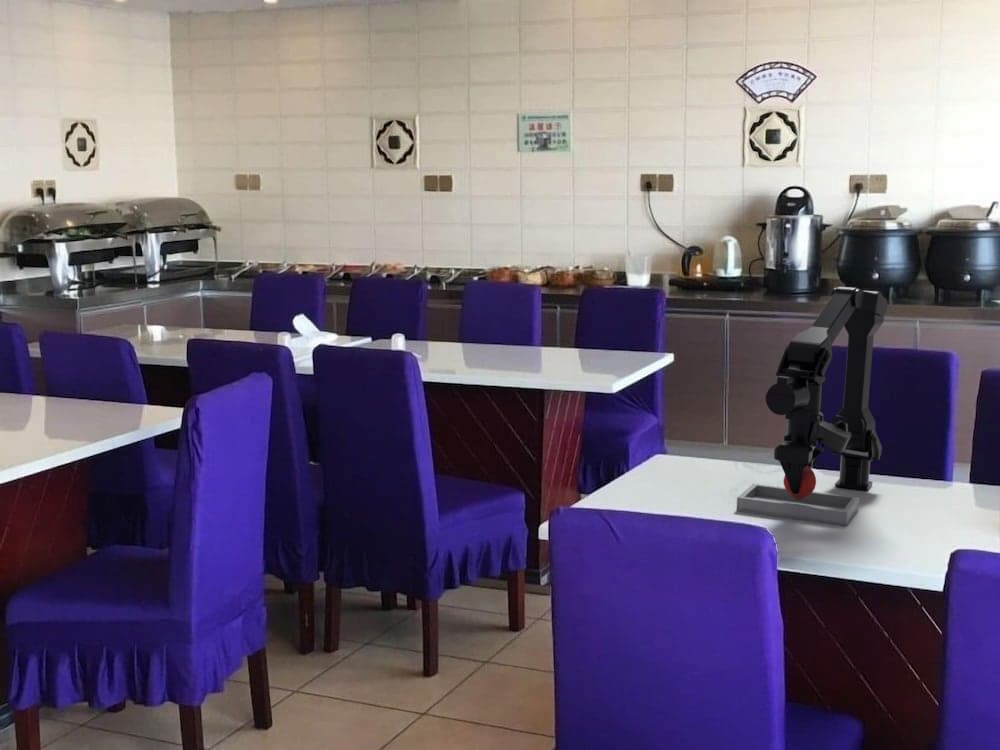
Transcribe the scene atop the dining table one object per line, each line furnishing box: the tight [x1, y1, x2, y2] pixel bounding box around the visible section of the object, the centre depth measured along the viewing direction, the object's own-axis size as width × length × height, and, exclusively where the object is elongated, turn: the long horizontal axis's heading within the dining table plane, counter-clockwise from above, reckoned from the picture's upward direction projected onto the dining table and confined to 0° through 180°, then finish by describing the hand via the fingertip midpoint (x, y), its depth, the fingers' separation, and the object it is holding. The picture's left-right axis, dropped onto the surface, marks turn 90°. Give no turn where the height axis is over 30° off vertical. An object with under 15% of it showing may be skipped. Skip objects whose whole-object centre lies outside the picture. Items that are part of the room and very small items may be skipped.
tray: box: [736, 483, 860, 527], centre depth 225 cm, size 12×20×2 cm, turn 64°
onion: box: [783, 465, 817, 501], centre depth 225 cm, size 6×6×8 cm
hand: (799, 489), depth 225 cm, fingers closed on onion, 6 cm apart
